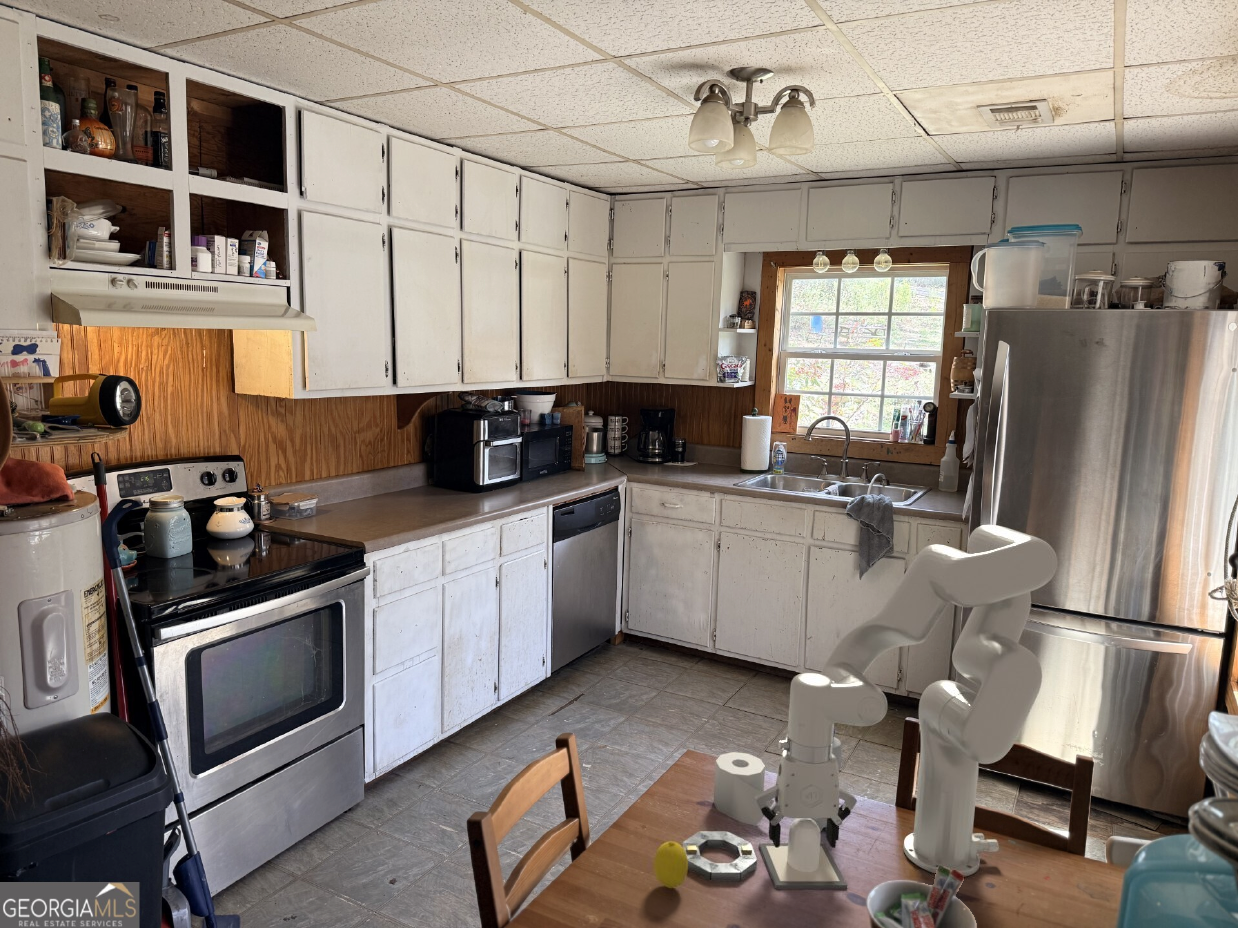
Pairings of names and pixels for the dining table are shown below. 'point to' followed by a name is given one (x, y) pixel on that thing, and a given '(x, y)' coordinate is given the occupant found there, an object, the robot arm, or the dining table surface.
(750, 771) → the toilet tissue
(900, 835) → the dining table surface
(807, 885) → the mat
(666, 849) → the lemon
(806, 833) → the capsule
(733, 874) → the socket ring
